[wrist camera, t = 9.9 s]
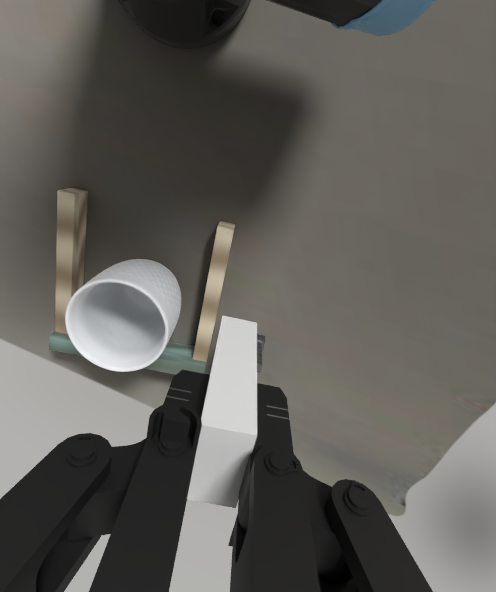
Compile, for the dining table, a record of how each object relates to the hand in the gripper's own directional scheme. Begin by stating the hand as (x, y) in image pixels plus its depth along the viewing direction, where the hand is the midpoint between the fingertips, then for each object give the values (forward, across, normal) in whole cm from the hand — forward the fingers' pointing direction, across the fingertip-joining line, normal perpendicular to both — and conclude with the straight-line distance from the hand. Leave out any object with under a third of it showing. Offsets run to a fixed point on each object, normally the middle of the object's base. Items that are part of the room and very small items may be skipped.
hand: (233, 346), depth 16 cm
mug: (+33, -12, -13) cm, 37 cm away
